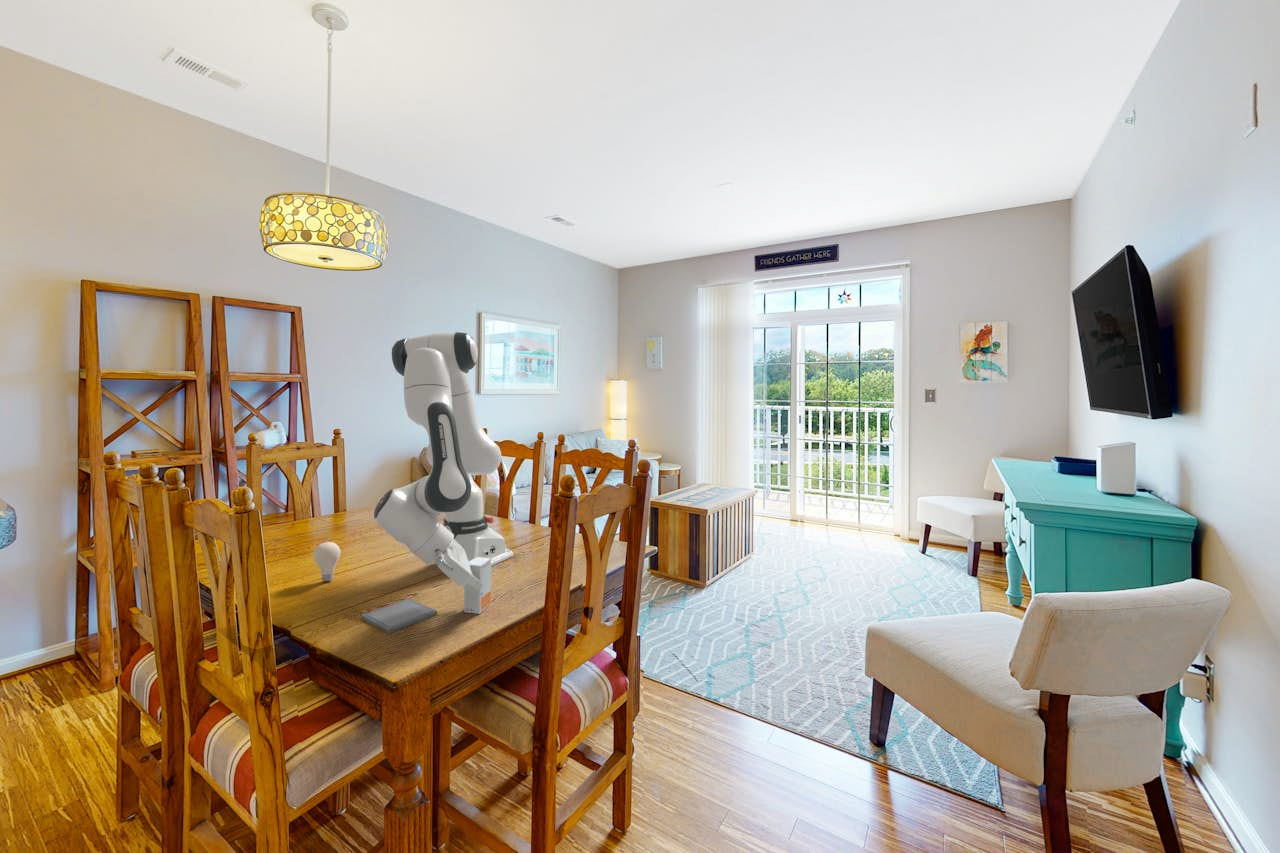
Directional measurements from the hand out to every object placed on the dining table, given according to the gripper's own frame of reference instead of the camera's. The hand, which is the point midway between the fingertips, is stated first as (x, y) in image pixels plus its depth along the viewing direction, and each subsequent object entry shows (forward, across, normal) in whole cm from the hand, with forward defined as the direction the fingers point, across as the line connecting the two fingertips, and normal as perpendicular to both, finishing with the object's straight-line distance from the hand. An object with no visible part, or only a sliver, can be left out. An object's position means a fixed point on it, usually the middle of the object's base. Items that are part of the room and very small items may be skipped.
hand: (478, 579), depth 128 cm
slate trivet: (-7, +2, +18) cm, 19 cm away
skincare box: (+5, 0, +5) cm, 7 cm away
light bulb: (-20, +33, +31) cm, 50 cm away
